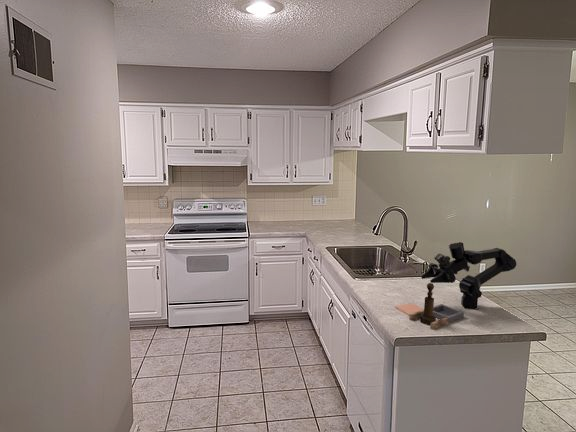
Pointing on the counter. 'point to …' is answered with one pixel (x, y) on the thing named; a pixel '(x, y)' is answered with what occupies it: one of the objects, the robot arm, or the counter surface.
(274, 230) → the counter surface
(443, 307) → the charcoal box
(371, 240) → the counter surface
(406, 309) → the terracotta tile
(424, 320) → the wooden pepper mill
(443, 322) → the walnut channel
